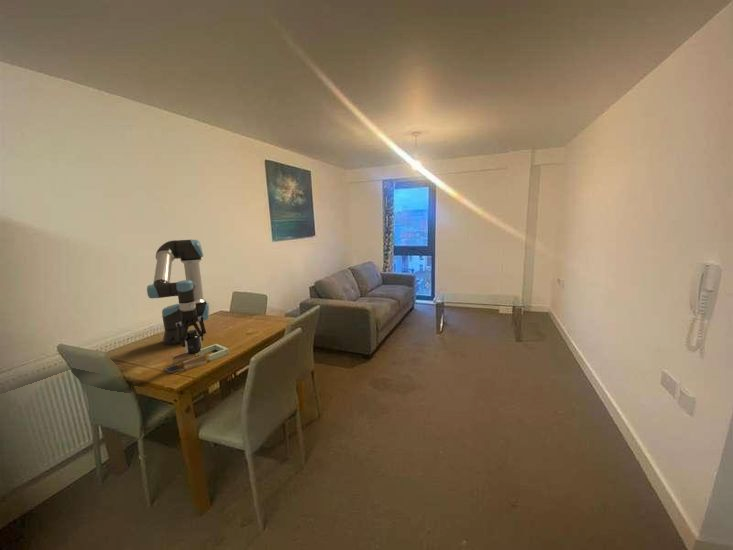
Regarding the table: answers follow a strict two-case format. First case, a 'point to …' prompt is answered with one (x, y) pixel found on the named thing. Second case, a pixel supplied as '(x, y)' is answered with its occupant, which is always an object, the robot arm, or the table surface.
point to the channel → (189, 363)
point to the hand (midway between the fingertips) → (193, 349)
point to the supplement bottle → (193, 342)
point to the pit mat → (173, 369)
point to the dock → (220, 353)
